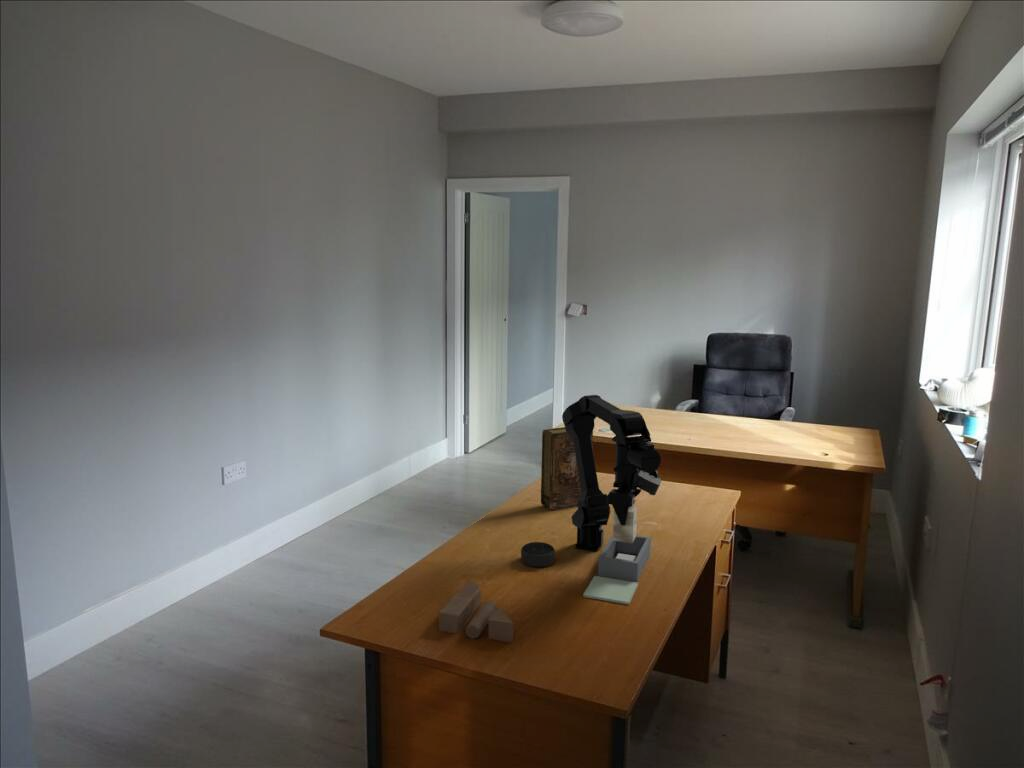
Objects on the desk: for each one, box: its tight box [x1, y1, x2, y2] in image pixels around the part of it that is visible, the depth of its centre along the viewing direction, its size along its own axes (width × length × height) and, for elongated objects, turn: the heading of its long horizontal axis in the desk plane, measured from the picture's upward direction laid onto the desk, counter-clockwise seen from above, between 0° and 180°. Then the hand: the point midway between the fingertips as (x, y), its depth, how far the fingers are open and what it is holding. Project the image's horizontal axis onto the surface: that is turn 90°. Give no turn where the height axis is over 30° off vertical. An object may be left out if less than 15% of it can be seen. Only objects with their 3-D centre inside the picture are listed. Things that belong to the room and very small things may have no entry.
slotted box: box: [597, 534, 652, 583], centre depth 199 cm, size 10×18×5 cm, turn 160°
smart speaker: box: [520, 541, 556, 568], centre depth 201 cm, size 9×9×4 cm
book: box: [540, 426, 594, 511], centre depth 242 cm, size 16×6×25 cm, turn 117°
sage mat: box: [582, 575, 639, 605], centre depth 185 cm, size 11×11×1 cm
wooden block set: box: [438, 581, 514, 644], centre depth 170 cm, size 17×6×18 cm
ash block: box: [612, 505, 638, 543], centre depth 194 cm, size 5×5×8 cm
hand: (625, 521), depth 194 cm, fingers closed on ash block, 5 cm apart
